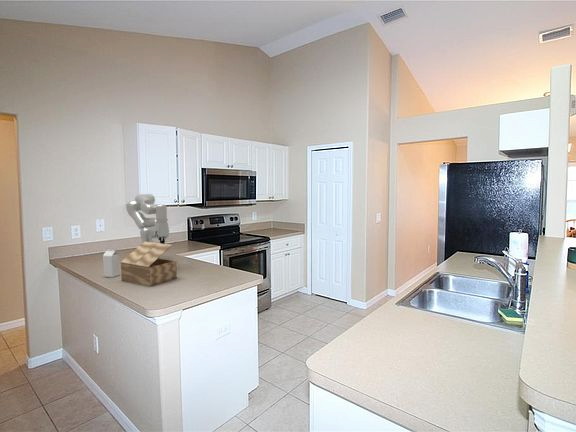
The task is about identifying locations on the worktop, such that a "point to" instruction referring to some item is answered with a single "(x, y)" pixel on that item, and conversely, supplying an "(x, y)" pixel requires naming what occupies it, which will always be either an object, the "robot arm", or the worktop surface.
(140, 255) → the flap
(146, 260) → the flap
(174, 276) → the carton
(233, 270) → the worktop surface
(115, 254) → the milk carton
